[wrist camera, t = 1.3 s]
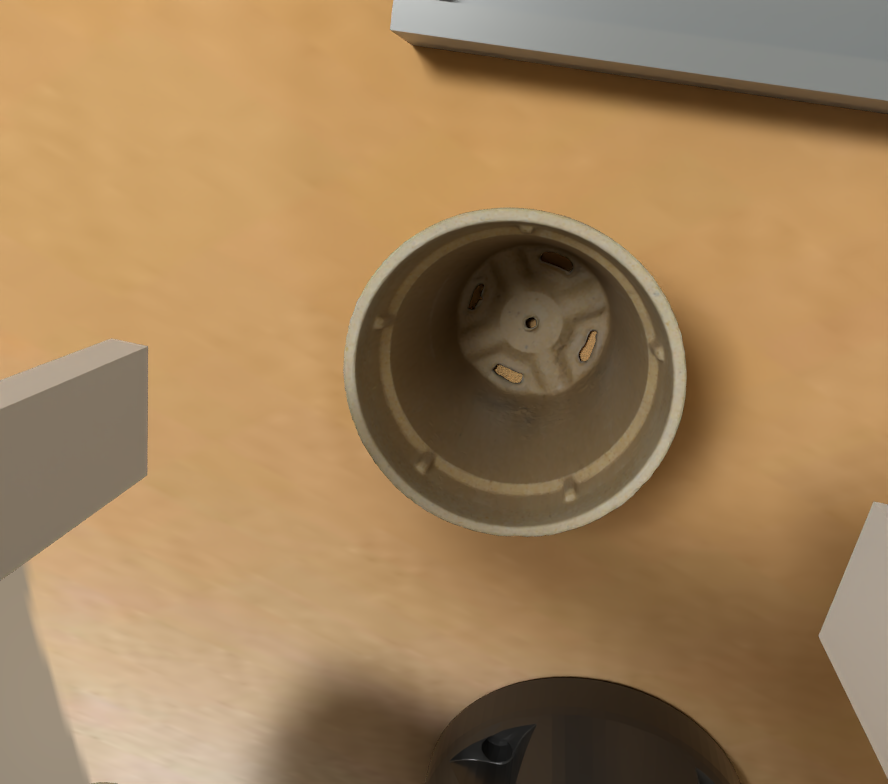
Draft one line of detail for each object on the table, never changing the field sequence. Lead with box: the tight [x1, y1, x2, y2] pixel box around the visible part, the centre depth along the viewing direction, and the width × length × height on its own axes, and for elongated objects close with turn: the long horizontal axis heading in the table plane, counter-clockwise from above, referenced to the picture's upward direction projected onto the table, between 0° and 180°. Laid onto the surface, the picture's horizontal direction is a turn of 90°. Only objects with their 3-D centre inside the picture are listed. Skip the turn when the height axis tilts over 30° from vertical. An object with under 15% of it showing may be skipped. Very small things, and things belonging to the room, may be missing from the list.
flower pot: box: [343, 208, 687, 537], centre depth 23 cm, size 9×9×9 cm
